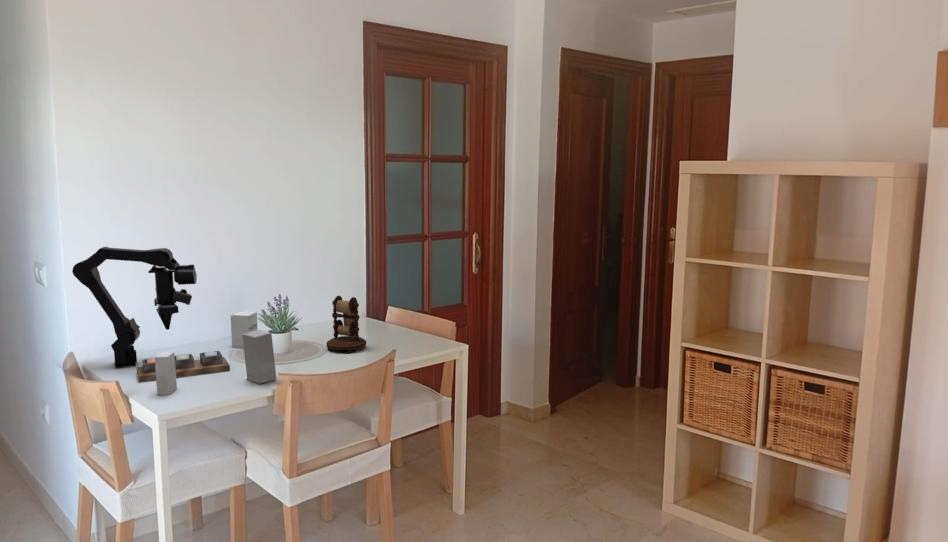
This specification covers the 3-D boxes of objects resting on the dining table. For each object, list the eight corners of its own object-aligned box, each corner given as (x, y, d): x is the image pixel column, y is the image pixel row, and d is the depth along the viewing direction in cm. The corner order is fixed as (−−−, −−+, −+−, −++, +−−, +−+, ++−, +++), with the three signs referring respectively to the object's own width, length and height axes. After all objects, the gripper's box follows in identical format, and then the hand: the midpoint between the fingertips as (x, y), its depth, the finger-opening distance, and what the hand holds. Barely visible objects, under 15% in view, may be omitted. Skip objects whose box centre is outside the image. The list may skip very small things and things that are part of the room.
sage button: (177, 367, 246) (176, 358, 246) (176, 364, 250) (175, 355, 249) (190, 365, 248) (189, 357, 247) (188, 362, 251) (188, 354, 251)
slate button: (205, 363, 250) (205, 355, 250) (204, 360, 254) (203, 352, 253) (218, 362, 252) (217, 353, 252) (216, 359, 255) (216, 350, 255)
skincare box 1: (163, 388, 231) (160, 351, 229) (177, 388, 232) (174, 351, 230) (156, 395, 225) (153, 356, 223) (171, 394, 226) (168, 356, 224)
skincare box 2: (276, 380, 240) (274, 332, 237) (256, 385, 235) (254, 336, 232) (263, 375, 246) (261, 328, 243) (243, 379, 241) (241, 332, 238)
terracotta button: (147, 371, 242) (147, 362, 241) (147, 367, 245) (146, 359, 245) (161, 369, 244) (160, 360, 243) (160, 366, 247) (159, 357, 247)
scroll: (373, 346, 283) (372, 294, 279) (351, 355, 269) (350, 301, 266) (341, 342, 289) (340, 291, 286) (318, 351, 275) (316, 298, 272)
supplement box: (249, 348, 279) (247, 315, 277) (231, 347, 280) (229, 314, 278) (258, 343, 286) (257, 311, 284) (241, 342, 288) (239, 310, 286)
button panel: (139, 382, 237) (138, 367, 237) (136, 372, 248) (135, 358, 247) (229, 370, 250) (229, 356, 249) (224, 362, 261) (223, 348, 260)
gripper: (192, 287, 251) (195, 332, 254) (186, 279, 267) (188, 321, 270) (157, 290, 246) (160, 336, 249) (152, 281, 262) (155, 324, 265)
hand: (167, 329), depth 258 cm, fingers closed
